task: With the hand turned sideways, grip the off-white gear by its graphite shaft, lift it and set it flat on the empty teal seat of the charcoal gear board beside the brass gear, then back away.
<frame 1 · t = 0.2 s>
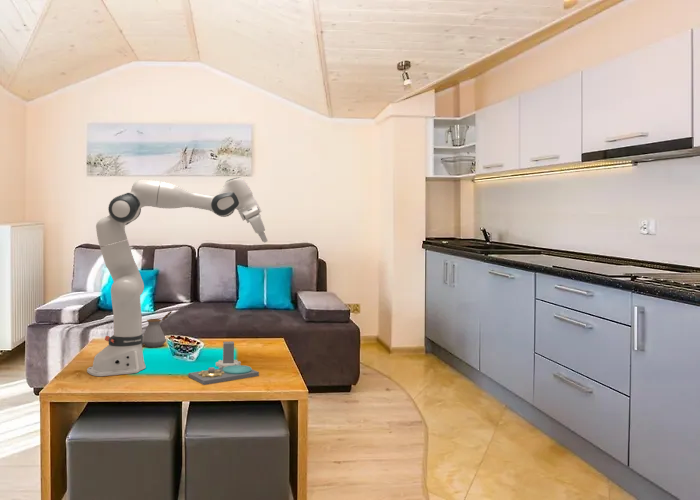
hand: (265, 241, 261), 54 cm above the table, tool tilted 30°, fingers open, 8 cm apart
coffee pot: (159, 344, 303), on the table
loose gear: (228, 365, 263), on the table
gear board: (223, 376, 245), on the table
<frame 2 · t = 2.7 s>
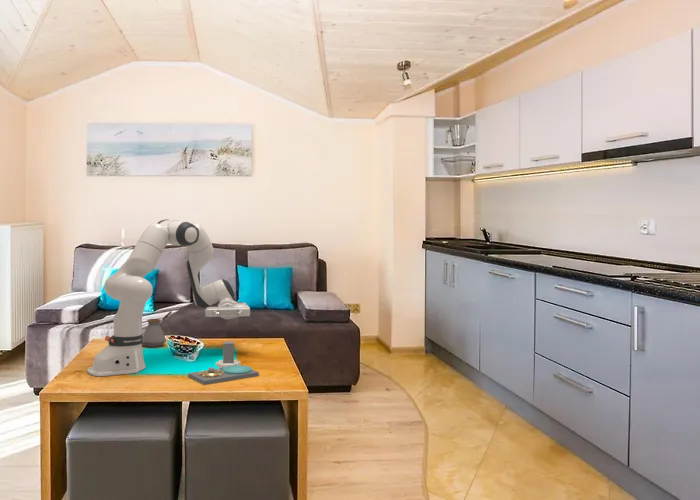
hand: (228, 314, 273), 20 cm above the table, tool horizontal, fingers open, 8 cm apart
nothing on the table moved.
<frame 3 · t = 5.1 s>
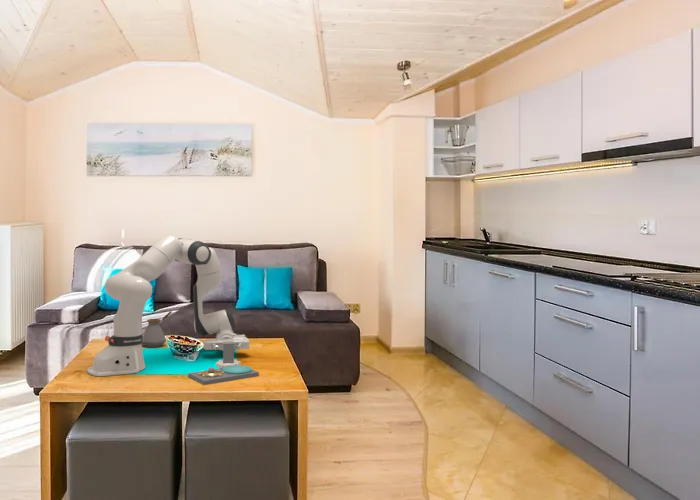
hand: (227, 347, 271), 6 cm above the table, tool horizontal, fingers open, 8 cm apart
nothing on the table moved.
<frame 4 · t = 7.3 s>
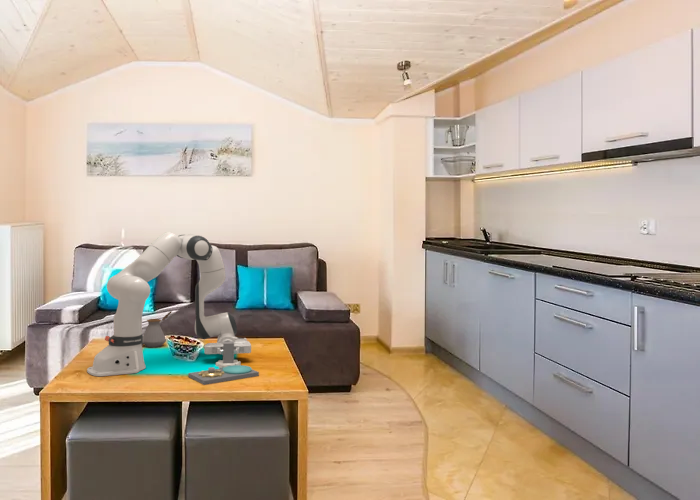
hand: (228, 352, 262), 6 cm above the table, tool horizontal, fingers closed on loose gear, 4 cm apart
loose gear: (228, 365, 263), on the table, touching gripper
everything else where it was.
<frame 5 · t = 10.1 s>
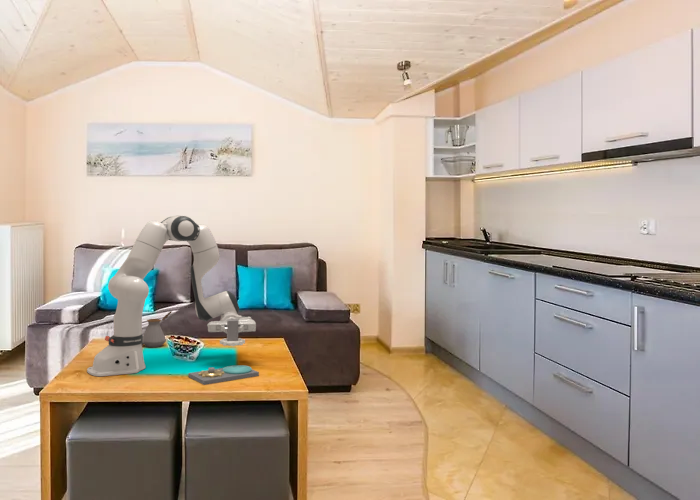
hand: (232, 329, 255), 17 cm above the table, tool horizontal, fingers closed on loose gear, 4 cm apart
loose gear: (232, 343, 256), point 11 cm above the table, touching gripper
everything else where it was.
when the fingers open (9 cm above the table, at t = 12.7 s): loose gear stays where it is, resting on gear board.
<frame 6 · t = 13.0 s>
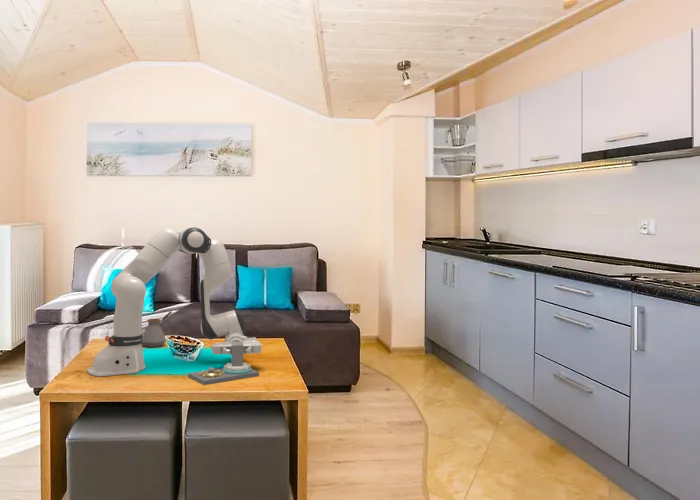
hand: (237, 352, 247), 9 cm above the table, tool horizontal, fingers open, 7 cm apart
loose gear: (237, 368, 249), point 2 cm above the table, touching gear board
everything else where it was.
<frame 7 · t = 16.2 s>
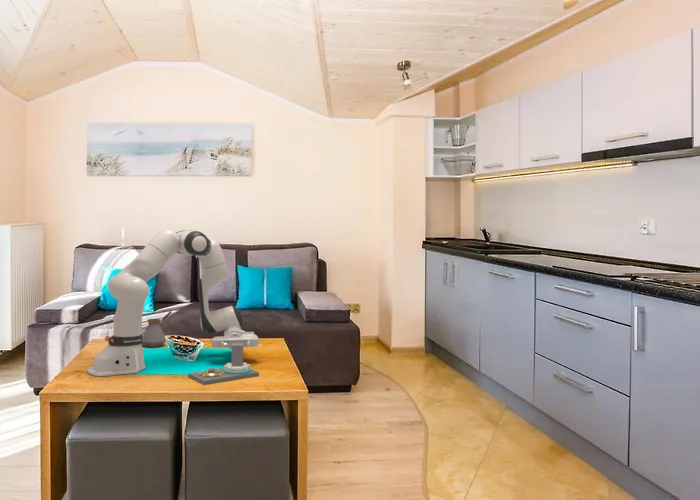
hand: (236, 345, 260), 9 cm above the table, tool horizontal, fingers open, 8 cm apart
nothing on the table moved.
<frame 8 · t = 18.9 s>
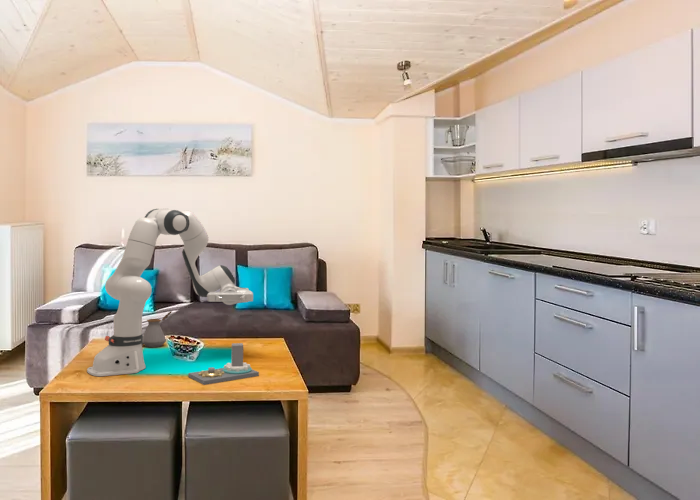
hand: (231, 299, 268), 28 cm above the table, tool horizontal, fingers open, 8 cm apart
nothing on the table moved.
at the end: loose gear 0.0 cm from the target spot on the gear board, point 2.3 cm above the gear board's base; loose gear tilted 0°; the gripper is holding nothing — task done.
